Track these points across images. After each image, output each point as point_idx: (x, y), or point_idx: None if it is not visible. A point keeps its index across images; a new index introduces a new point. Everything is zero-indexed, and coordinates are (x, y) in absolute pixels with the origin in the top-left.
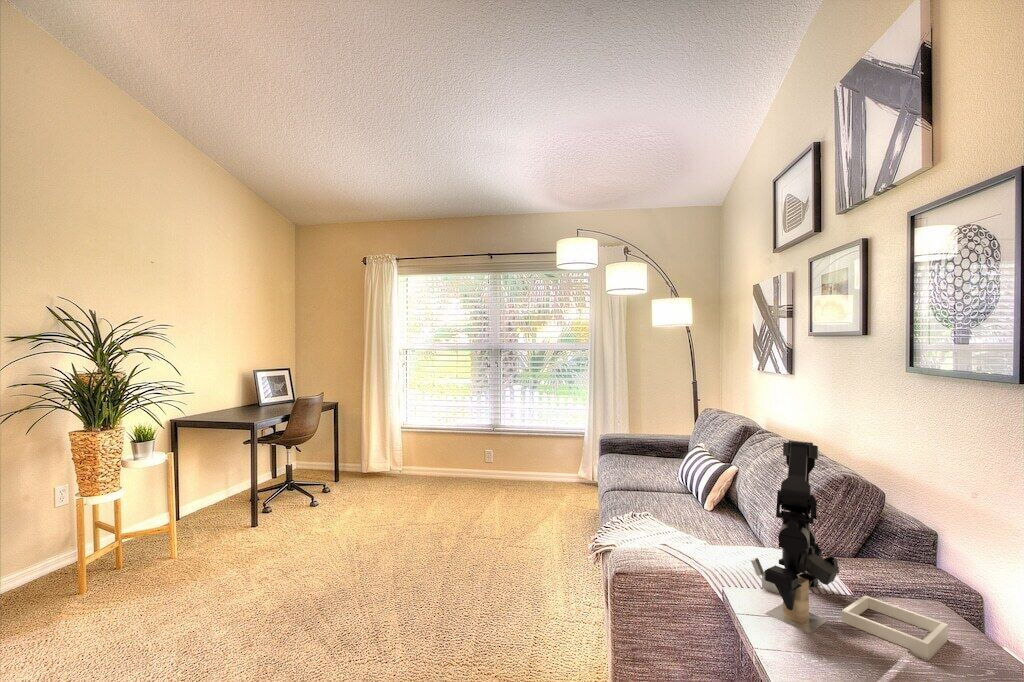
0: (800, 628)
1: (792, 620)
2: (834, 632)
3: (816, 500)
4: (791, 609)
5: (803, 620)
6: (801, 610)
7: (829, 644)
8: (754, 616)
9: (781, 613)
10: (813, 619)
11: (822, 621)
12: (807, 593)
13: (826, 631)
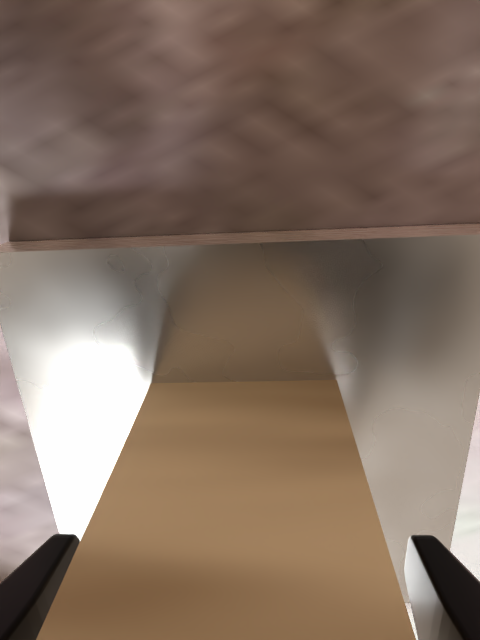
0: (470, 331)
1: (357, 443)
2: (105, 120)
3: None
4: (445, 547)
5: (276, 386)
6: (348, 474)
7: (452, 5)
8: None
9: None
10: (131, 346)
11: (80, 274)
12: None
13: (170, 182)
